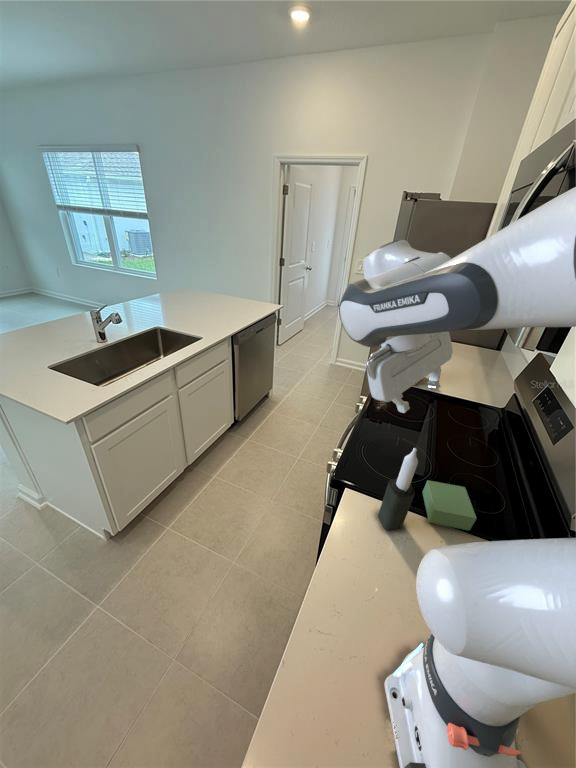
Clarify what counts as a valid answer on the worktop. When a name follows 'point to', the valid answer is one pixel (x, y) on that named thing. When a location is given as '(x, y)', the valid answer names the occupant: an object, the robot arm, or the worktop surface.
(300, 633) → the worktop surface
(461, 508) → the green block
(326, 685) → the worktop surface
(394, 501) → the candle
